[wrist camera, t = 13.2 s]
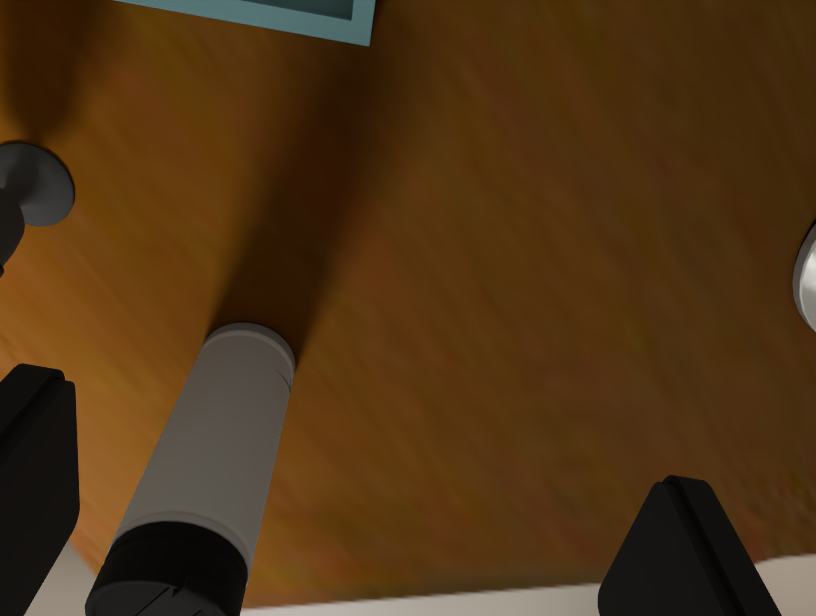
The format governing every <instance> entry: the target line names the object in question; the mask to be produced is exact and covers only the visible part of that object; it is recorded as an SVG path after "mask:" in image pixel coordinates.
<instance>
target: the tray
mask: <svg viewBox="0 0 816 616" xmlns="http://www.w3.org/2000/svg"><path fill="white" fill-rule="evenodd" d="M115 1H121V2H126V3H132V4H137V5H143V6H148V7H154V8H159V9H165V10H170V11H176V12H182V13H187V14H193V15H198V16H204V17H209V18H215V19H220V20H226V21H231V22H237V23H242V24H248V25H253V26H259V27H264V28H270V29H275V30H281V31H286V32H292V33H297V34H303V35H308V36H314V37H319V38H325V39H330V40H336V41H341V42H347V43H353V44H358V45H364V46H369V44H370V39H371V32H372V24H373V17H374V10H375V2H376V0H115Z"/></svg>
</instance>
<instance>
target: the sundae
mask: <svg viewBox="0 0 816 616" xmlns="http://www.w3.org/2000/svg"><path fill="white" fill-rule="evenodd" d="M73 202H74V188H73V185H72V181H71V179H70V177H69V175H68V172H67V171H66V170H65V168H64V167H63V166H62V165H61V164H60V162H59V161H58V160H57V159H56V158H55V157H53V156H52V155H50V154H49V153H48V152H46V151H44V150H42V149H41V148H39V147H36V146H32V145H29V144H24V143H11V144H6V145H2V146H0V278H1V276H2V275H3V273H4V268H3V266H4V264H5V263H6V262H7V261H8V259H9V258H10V257H11V256H12V254H13V253H14V251H15V249H16V248H17V246H18V244H19V242H20V240H21V238H22V236H23V233H24V228H25V224H28V225H33V226H48V225H53V224H55V223H57V222H59V221H61V220H62V219H64V218H65V217H66V216H67V215H68V213H69V212H70V210H71V208H72V206H73Z"/></svg>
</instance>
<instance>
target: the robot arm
mask: <svg viewBox="0 0 816 616" xmlns="http://www.w3.org/2000/svg"><path fill="white" fill-rule="evenodd" d="M792 283H793V294H794V300H795V303H796V305H797V308H798V311H799V313H800V314H801V316H802V317H803V319H804V320H805V321H806V323H807V324H808V325H809V326H810V327H811V328H812V329H813V330H814V331H815V332H816V224H815V225H814V226H813V228H812V229H811V231H810V232H809V234H808V236H807V238H806V240H805V241H804V243H803V245H802V247H801V249H800V252H799V255H798V258H797V261H796V263H795V268H794V275H793V282H792ZM79 510H80V500H79V473H78V447H77V420H76V394H75V385H74V383H73V382H71V381H65V377H64V374H63V372H62V371H61V370H58V369H52V368H46V367H41V366H35V365H29V364H23V363H22V364H18V365H17V366H16V367H15V368H13V369H12V370H11V372H10V373H9V374H8V375H7V376H6V377H5V378H4V379H3V380H2V381H1V382H0V616H24V614H25V612H26V611H27V609H28V607H29V606H30V604H31V602H32V600H33V599H34V597H35V595H36V594H37V592H38V590H39V589H40V587H41V585H42V583H43V582H44V580H45V578H46V576H47V575H48V573H49V571H50V569H51V568H52V566H53V565H54V563H55V561H56V559H57V558H58V556H59V554H60V552H61V551H62V549H63V547H64V546H65V544H66V542H67V541H68V539H69V537H70V535H71V534H72V532H73V530H74V528H75V525H76V523H77V519H78V516H79ZM598 609H599V614H600V616H782V615H781V613H780V612H779V610H778V608H777V606H776V604H775V603H774V601H773V599H772V597H771V596H770V593H769V592H768V590H767V588H766V586H765V584H764V583H763V581H762V579H761V577H760V575H759V573H758V572H757V570H756V568H755V566H754V564H753V562H752V561H751V559H750V557H749V555H748V553H747V552H746V550H745V548H744V546H743V544H742V542H741V541H740V539H739V537H738V535H737V533H736V532H735V530H734V528H733V526H732V524H731V522H730V521H729V519H728V517H727V515H726V513H725V511H724V510H723V508H722V506H721V504H720V502H719V501H718V499H717V497H716V495H715V493H714V491H713V490H712V488H711V486H710V485H709V484H708V483H707V482H705V481H704V480H698V479H692V478H686V477H681V476H675V475H669V476H668V477H666V478H665V479H664V480H663V482H657V483H655V484H654V485H653V487H652V488H651V490H650V492H649V494H648V496H647V498H646V500H645V502H644V504H643V506H642V507H641V509H640V511H639V513H638V515H637V517H636V519H635V521H634V523H633V525H632V527H631V529H630V531H629V532H628V534H627V536H626V538H625V540H624V542H623V544H622V546H621V548H620V550H619V552H618V554H617V556H616V557H615V559H614V561H613V563H612V565H611V567H610V569H609V571H608V573H607V575H606V577H605V579H604V580H603V582H602V584H601V586H600V589H599V593H598Z"/></svg>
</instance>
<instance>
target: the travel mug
mask: <svg viewBox="0 0 816 616" xmlns="http://www.w3.org/2000/svg"><path fill="white" fill-rule="evenodd" d="M294 373H295V358H294V355H293V352H292V350H291V348H290V346H289V345H288V344H287V343H286V341H285V340H284V339H283V338H282V337H281V336H279V335H278V334H277V333H276V332H274V331H272V330H271V329H269V328H267V327H264V326H261V325H258V324H253V323H233V324H229V325H226V326H223V327H221V328H219V329H217V330H215V331H214V332H213V333H212V334H210V335H209V336H208V338H207V339H206V340H205V342H204V343H203V346H202V348H201V350H200V352H199V354H198V357H197V359H196V361H195V363H194V365H193V367H192V369H191V372H190V374H189V376H188V378H187V380H186V382H185V385H184V387H183V389H182V391H181V393H180V395H179V397H178V400H177V402H176V404H175V406H174V408H173V410H172V413H171V415H170V417H169V419H168V421H167V423H166V426H165V428H164V430H163V432H162V434H161V436H160V439H159V441H158V443H157V445H156V447H155V449H154V452H153V454H152V456H151V458H150V460H149V462H148V465H147V467H146V469H145V471H144V473H143V475H142V478H141V480H140V482H139V484H138V486H137V488H136V491H135V493H134V495H133V497H132V499H131V501H130V504H129V506H128V508H127V510H126V512H125V514H124V517H123V519H122V521H121V523H120V525H119V527H118V530H117V532H116V535H115V537H114V539H113V540H112V543H111V545H110V547H109V550H108V553H107V557H106V559H105V562H104V564H103V566H102V567H101V570H100V572H99V574H98V576H97V578H96V581H95V583H94V585H93V588H92V589H91V592H90V594H89V596H88V598H87V601H86V604H85V614H86V616H240V611H241V607H242V602H243V598H244V594H245V589H246V587H247V585H248V581H249V577H250V572H251V568H252V563H253V559H254V554H255V550H256V545H257V541H258V536H259V531H260V527H261V522H262V518H263V513H264V509H265V504H266V500H267V495H268V491H269V486H270V482H271V477H272V473H273V468H274V464H275V459H276V455H277V450H278V445H279V441H280V436H281V432H282V427H283V423H284V418H285V414H286V409H287V405H288V400H289V396H290V391H291V386H292V382H293V378H294Z"/></svg>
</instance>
